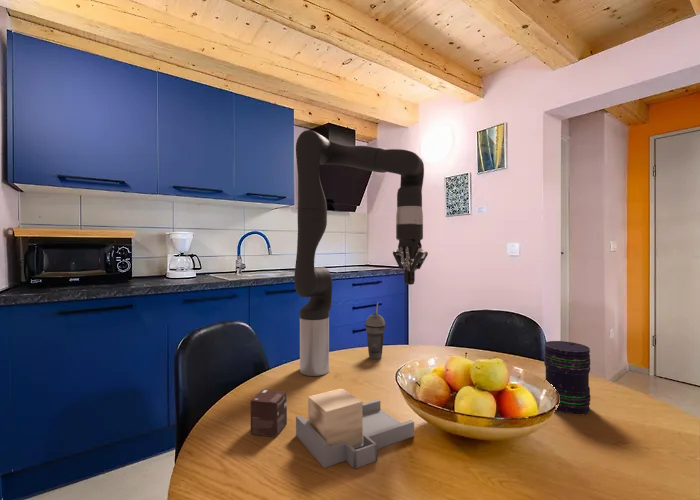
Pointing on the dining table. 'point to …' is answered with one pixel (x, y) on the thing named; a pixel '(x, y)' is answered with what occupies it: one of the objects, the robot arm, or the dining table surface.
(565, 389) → the black striped cylinder
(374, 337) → the beverage cup
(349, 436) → the maple cube
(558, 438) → the dining table surface
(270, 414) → the box
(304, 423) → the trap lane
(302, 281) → the robot arm
